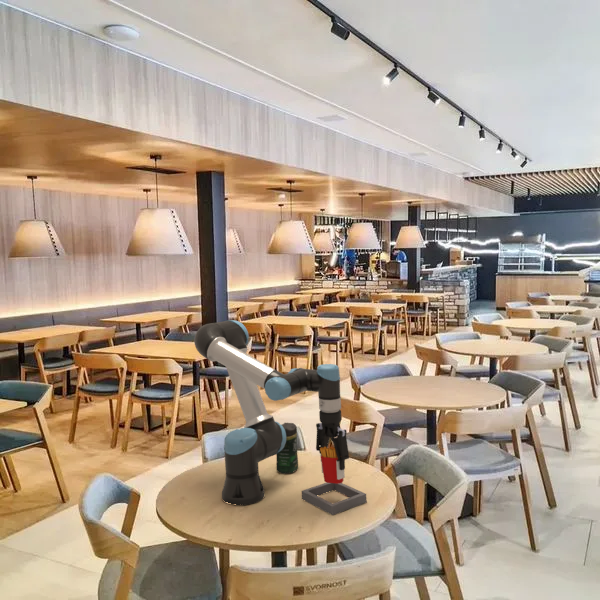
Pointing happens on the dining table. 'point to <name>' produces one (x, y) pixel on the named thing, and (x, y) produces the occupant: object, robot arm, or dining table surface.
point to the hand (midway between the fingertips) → (333, 475)
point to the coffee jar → (288, 451)
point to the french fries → (330, 465)
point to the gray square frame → (334, 508)
